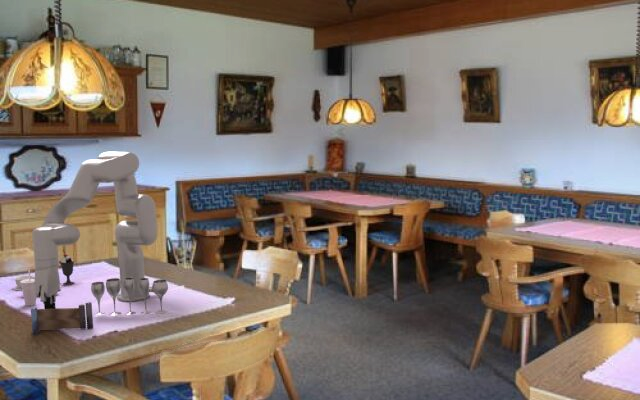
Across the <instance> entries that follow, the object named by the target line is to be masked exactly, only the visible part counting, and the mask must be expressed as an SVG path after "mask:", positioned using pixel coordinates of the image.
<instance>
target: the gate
mask: <svg viewBox="0 0 640 400" xmlns="http://www.w3.org/2000/svg"><path fill="white" fill-rule="evenodd" d="M37 315H38V327H39V331H40V330H41V331H42V330H43V331H44V330H73V329H75V330H76V329H77V330H78V329H81V330H83V329H87V319H86V304H79V305H78V307H67V308H66V307H63V308H60V307H59V308H58V307H57V308H55V309H44V308H37Z"/></svg>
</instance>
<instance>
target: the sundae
mask: <svg viewBox="0 0 640 400" xmlns="http://www.w3.org/2000/svg"><path fill="white" fill-rule="evenodd" d="M62 252H65V251H64V249H62ZM74 262H75V259H72V258H71V256H69V255H68V254H66V253H64V254H63V257H62V259H61V260H60V261H59V260H58V264H60V266H61V270H62V271H61V272H62V274H63V275H64V276H65V277H66V281H65V282H63V283H62V285H63V286H71V285H75V281H71V279H70V276H71V275H72V274H73V271H74Z"/></svg>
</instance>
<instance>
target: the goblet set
mask: <svg viewBox="0 0 640 400" xmlns="http://www.w3.org/2000/svg"><path fill="white" fill-rule="evenodd" d="M90 285H91V286H90V289H91V294H92V296H93V297H94V298H95V300H96V301H97V305H98V312H96V314H95V313H94V314H95V315H102V314H105V313H106V312H104V313H102V312H101V299H102V298H103V295H104V294H105V291H106V292H107V294H108V295H109V296H110V297H111V299H112V301H113V310H114V311H113V312H109V313H110V314H109V313H108V316H110V315H111V316H110V317H116V315H117V316H121V315H122V314H123V313H122V312H121V311H116V300H117V295H118V294H120V293H121V283H120V278H117V277H114V278H113V277H111V278H107V279H106V280H105V283H104V282H103V281H94V282H92V283H91V284H90ZM149 287H150V280H149V278H148V277H147V278H146V277H145V278H142V279H140V290H141V292H142V294H143V296H144V299H143V300H144V310H145V311H142V312H140V315H143V316H144V315H149V314H152V311H149V310H147V298H146V297H147V293H148V291H149ZM151 287H152V290H153V292H152V293H153V294H155V296H157V297H158V298H159V303H160V310H158V311H155V312H154V314H155V315H165V314H168V311H167V310H163V309H162V300H163V297H164V296H165V295H166V294H167V292H168V290H169V285H168V282H167V280H166V279H156V280H154V281H153V282H152V286H151ZM124 290H125V292H126V294H127V296H128V298H129V301H128V302H129V311H128V312H126V313H124V314H125V316H132V315H136V313H137V312H136V311H132V310H131V309H132V308H131V307H132V305H131V303H132V301H131V296H132V293H133V290H134V280H133V278H125V279H124ZM100 312H101V313H100ZM105 315H106V314H105Z"/></svg>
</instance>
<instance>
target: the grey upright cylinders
mask: <svg viewBox="0 0 640 400" xmlns="http://www.w3.org/2000/svg"><path fill="white" fill-rule="evenodd" d="M84 305H85V317H86V330H93V329H94V321H93V319H94V318H93V317H94V316H93V304H92V302H85V304H84ZM37 309H38V308H37V307H31V308H30V318H31V319H30V321H31V330H32V331H31V332H32V336H38V335H40V330H39V327H38V315H37Z"/></svg>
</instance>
